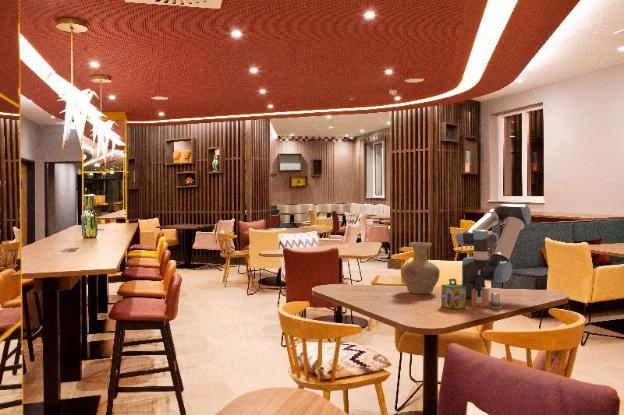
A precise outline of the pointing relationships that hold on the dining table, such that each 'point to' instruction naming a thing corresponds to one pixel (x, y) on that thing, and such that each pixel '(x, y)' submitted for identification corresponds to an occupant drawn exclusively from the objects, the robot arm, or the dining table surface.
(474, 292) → the terracotta cube
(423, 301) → the dining table surface
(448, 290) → the chalk box
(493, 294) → the stud
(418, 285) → the vase
